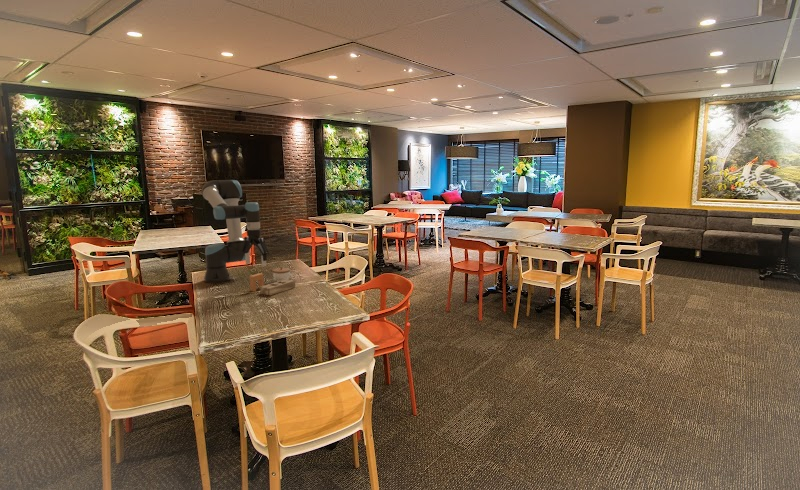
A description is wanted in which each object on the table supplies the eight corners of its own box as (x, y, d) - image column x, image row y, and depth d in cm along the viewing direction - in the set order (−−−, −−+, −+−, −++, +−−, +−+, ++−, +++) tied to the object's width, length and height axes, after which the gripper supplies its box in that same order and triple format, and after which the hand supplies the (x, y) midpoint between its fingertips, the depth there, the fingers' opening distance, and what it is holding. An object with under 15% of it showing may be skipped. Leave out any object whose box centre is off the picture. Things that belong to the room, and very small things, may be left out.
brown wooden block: (260, 293, 245) (259, 286, 244) (285, 285, 262) (285, 279, 261) (270, 295, 241) (269, 288, 240) (295, 287, 258) (294, 280, 257)
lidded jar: (293, 279, 276) (292, 265, 274) (287, 283, 266) (286, 269, 264) (277, 279, 277) (276, 265, 275) (270, 283, 267) (269, 268, 265)
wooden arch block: (250, 290, 250) (249, 275, 249) (260, 287, 257) (259, 273, 255) (254, 291, 249) (253, 276, 247) (264, 288, 255) (263, 273, 254)
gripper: (233, 228, 249) (236, 264, 253) (263, 231, 237) (266, 268, 241) (244, 227, 256) (246, 261, 259) (273, 229, 244) (276, 265, 247)
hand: (255, 265), depth 250 cm, fingers open, 13 cm apart
